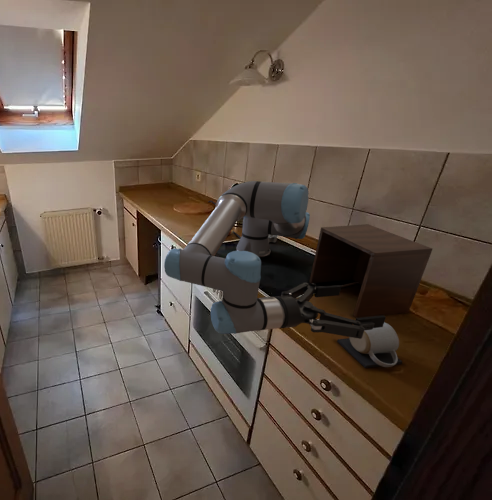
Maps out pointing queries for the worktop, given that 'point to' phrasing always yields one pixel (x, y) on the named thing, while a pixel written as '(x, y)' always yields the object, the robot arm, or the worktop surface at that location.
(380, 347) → the ceramic mug
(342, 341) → the mat
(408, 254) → the cupboard
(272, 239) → the egg carton
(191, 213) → the worktop surface
